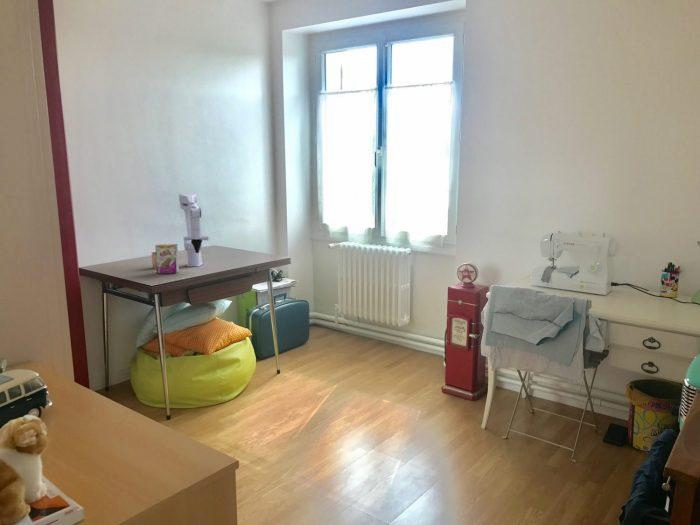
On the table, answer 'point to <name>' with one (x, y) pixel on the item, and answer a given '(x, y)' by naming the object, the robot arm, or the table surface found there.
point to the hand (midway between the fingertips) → (197, 252)
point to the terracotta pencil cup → (154, 260)
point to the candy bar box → (167, 258)
